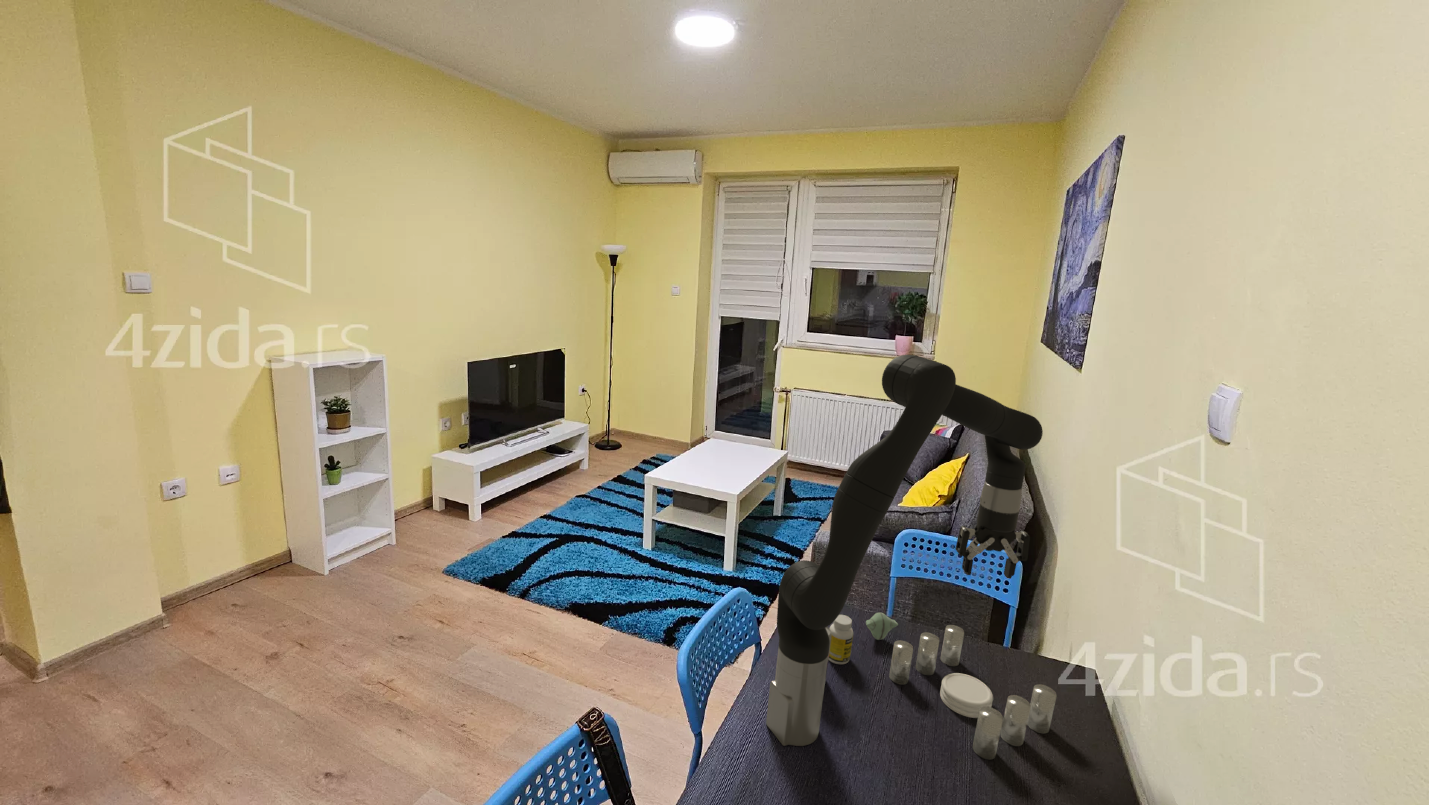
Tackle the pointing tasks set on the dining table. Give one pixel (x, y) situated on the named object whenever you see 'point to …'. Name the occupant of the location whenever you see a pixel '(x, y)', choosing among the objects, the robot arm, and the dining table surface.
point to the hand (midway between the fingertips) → (987, 575)
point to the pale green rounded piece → (880, 625)
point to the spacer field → (989, 718)
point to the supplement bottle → (841, 640)
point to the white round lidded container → (965, 694)
